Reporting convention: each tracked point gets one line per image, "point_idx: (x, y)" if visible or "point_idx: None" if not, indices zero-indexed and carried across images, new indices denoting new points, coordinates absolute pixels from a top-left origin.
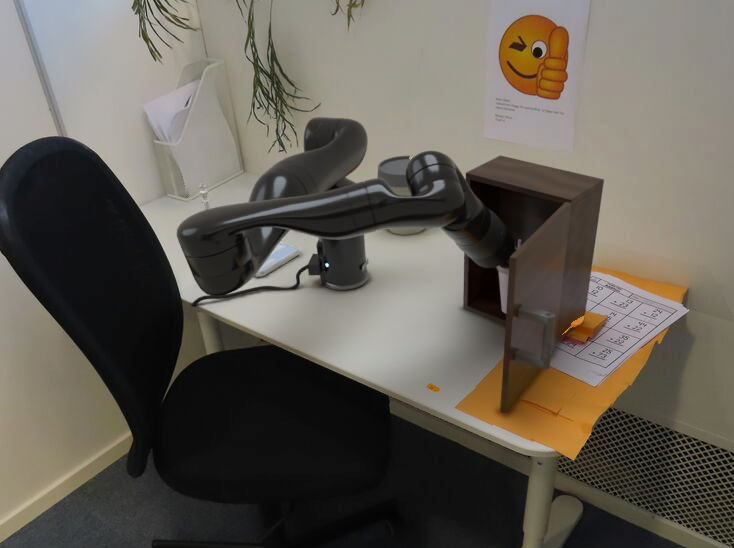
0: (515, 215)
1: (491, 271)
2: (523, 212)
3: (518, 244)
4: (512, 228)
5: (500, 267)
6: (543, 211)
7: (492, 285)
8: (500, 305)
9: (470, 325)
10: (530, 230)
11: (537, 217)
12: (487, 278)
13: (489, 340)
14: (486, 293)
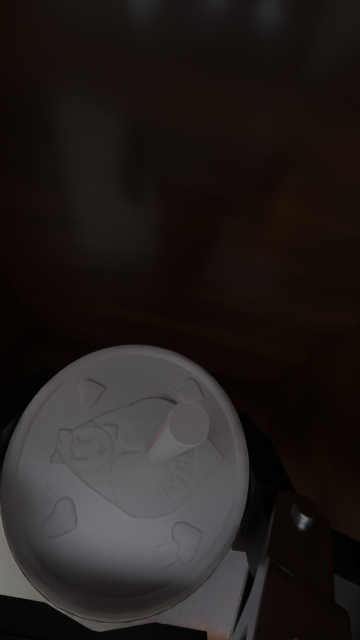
0: (8, 68)
1: (8, 321)
2: (65, 31)
3: (173, 449)
4: (23, 167)
5: (49, 599)
6: (258, 3)
7: (29, 339)
8: None
9: (6, 558)
10: (136, 179)
11: (189, 79)
12: (3, 348)
13: (97, 624)
14: (20, 370)
